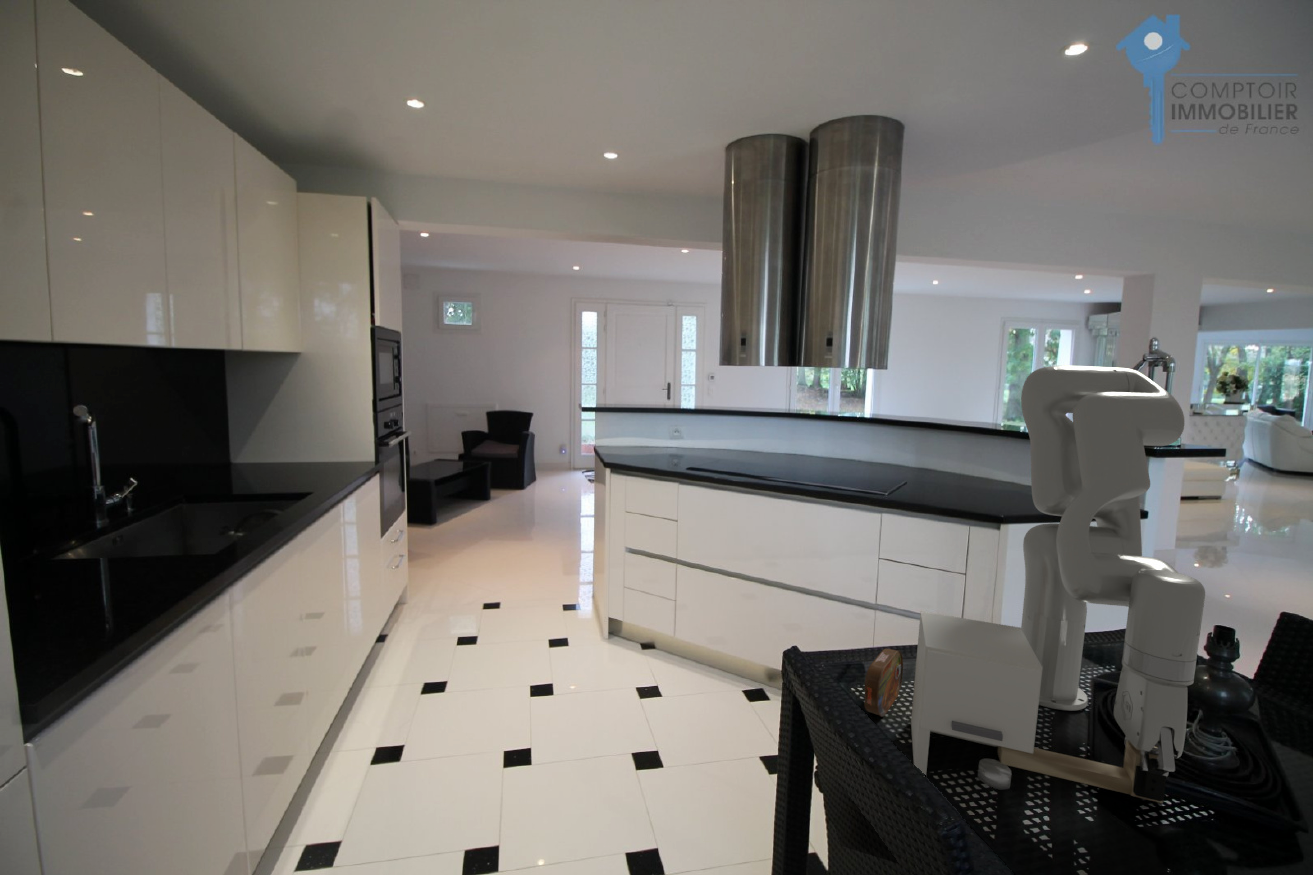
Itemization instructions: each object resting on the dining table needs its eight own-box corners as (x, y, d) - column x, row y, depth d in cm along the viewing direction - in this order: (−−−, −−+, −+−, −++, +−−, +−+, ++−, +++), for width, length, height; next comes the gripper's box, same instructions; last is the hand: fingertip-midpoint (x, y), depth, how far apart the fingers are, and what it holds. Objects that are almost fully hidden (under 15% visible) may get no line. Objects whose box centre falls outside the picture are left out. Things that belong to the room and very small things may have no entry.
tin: (878, 725, 96) (882, 676, 95) (858, 718, 98) (862, 669, 97) (903, 689, 108) (907, 645, 107) (885, 683, 110) (889, 640, 109)
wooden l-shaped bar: (997, 751, 90) (1000, 714, 90) (1151, 787, 83) (1157, 747, 83) (1001, 764, 87) (1005, 726, 86) (1162, 803, 80) (1167, 761, 79)
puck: (976, 768, 86) (977, 755, 86) (1007, 776, 85) (1008, 763, 85) (979, 785, 82) (981, 772, 82) (1012, 793, 81) (1014, 780, 81)
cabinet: (910, 722, 97) (920, 611, 95) (1008, 744, 92) (1020, 627, 90) (914, 780, 83) (926, 650, 81) (1030, 810, 78) (1045, 673, 76)
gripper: (1104, 633, 90) (1090, 747, 91) (1148, 683, 74) (1131, 819, 76) (1165, 643, 87) (1150, 760, 89) (1225, 697, 71) (1205, 838, 73)
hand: (1141, 786), depth 82 cm, fingers closed on wooden l-shaped bar, 3 cm apart
